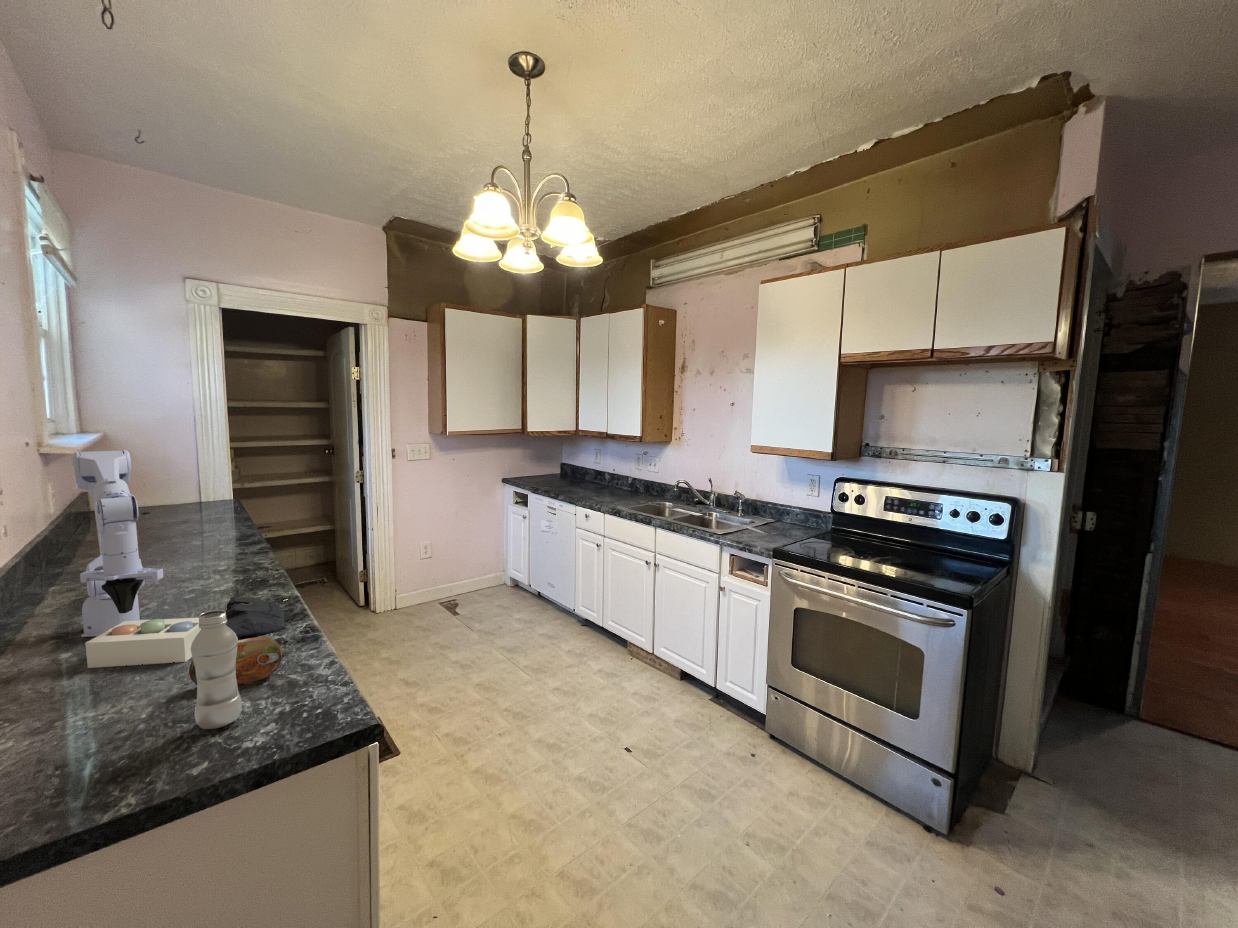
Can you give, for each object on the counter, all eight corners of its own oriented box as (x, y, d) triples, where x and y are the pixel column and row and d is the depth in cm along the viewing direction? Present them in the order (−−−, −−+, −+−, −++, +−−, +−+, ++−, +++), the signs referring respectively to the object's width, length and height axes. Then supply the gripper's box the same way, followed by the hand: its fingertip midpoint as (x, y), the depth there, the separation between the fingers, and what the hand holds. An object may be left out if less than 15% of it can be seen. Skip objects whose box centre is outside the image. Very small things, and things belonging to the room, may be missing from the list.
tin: (190, 693, 101) (186, 652, 100) (194, 685, 104) (191, 645, 103) (282, 676, 108) (280, 637, 107) (283, 669, 110) (281, 631, 109)
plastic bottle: (211, 712, 95) (204, 607, 92) (251, 711, 95) (244, 606, 93) (185, 735, 88) (176, 622, 86) (228, 734, 89) (220, 621, 87)
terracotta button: (107, 644, 112) (106, 632, 112) (121, 636, 116) (120, 624, 116) (129, 643, 113) (128, 631, 113) (142, 635, 117) (141, 623, 117)
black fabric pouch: (211, 648, 120) (210, 628, 119) (209, 616, 137) (208, 599, 136) (290, 631, 129) (289, 613, 129) (279, 604, 146) (278, 587, 146)
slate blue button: (166, 641, 115) (165, 629, 114) (177, 633, 118) (176, 621, 118) (186, 640, 115) (185, 628, 115) (197, 632, 119) (196, 620, 119)
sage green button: (136, 639, 113) (135, 626, 113) (149, 631, 117) (148, 619, 117) (157, 638, 114) (156, 625, 114) (169, 630, 118) (168, 618, 118)
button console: (87, 667, 109) (85, 642, 109) (126, 644, 120) (124, 621, 119) (185, 661, 113) (183, 637, 112) (214, 639, 123) (213, 616, 123)
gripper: (65, 558, 108) (71, 620, 110) (145, 556, 111) (150, 617, 113) (92, 548, 115) (98, 607, 117) (167, 546, 118) (172, 604, 119)
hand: (125, 611), depth 115 cm, fingers closed
